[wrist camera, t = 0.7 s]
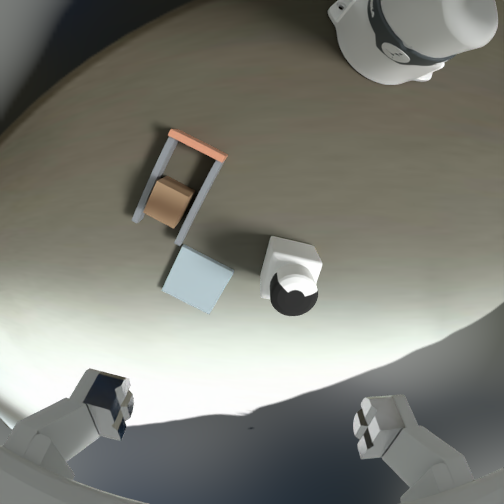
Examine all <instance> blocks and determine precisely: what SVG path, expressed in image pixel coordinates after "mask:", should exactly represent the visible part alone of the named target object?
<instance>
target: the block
mask: <svg viewBox="0 0 504 504" xmlns="http://www.w3.org/2000/svg"><path fill="white" fill-rule="evenodd" d="M194 193H195V190H193V189H192V188H190V187H188V186H186V185H184V184H182V183H180V182H178V181H176V180H174V179H172V178H170V177H168V176H166V177H164V178H161V179H159V180H157V182H156V184H155V186H154V188H153V191H152V193H151V195H150V197H149V200H148V202H147V204H146V207H145V209H144V211H143V213H145V214H147V215H149V216H151V217H153V218H155V219H156V220H158V221H160V222H162V223H164V224H166V225H168V226H170V227H172V228H173V229H174V228H175V226H176V225H177V224H178V223H179V222H180V221H181V219H182V218H183V216H184V214H185V211H186V209H187V207H188V205H189V203H190V201H191V199H192V197H193V195H194Z"/></svg>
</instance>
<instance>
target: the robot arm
mask: <svg viewBox="0 0 504 504" xmlns="http://www.w3.org/2000/svg"><path fill="white" fill-rule="evenodd" d="M339 7H342V8H343V10H341V9H339ZM328 15H329V17H330V19H331V21H332V22H333V24H334V25H335V27H336V31H337V39H338V43H339V46H340V49H341V51H342V53H343V55H344V57H345V58H346V60H347V61H348V62H349V63H350V65H351V66H352V67H353V68H354V69H355V70H356V71H358V72H359V73H360V74H362V75H363V76H365V77H366V78H368V79H370V80H372V81H375V82H377V83H381V84H386V85H397V84H401V83H404V82H407V81H411V80H415V81H422V82H425V81H428V80H430V79H431V76H432V73H433V72H434V71H436V70H438V69H440V68H442V67H443V66H444V62H446V61H447V60H449V59H451V58H453V57H454V56H455V55H456V54H458V53H461V52H465V51H468V50H472V49H476V48H480V47H482V46H484V45H486V44H487V43H488V42H489V41H490V40H491V39H492V38H493V36H494V35H495V32H496V30H497V26H498V13H497V8H496V3H495V0H338V1H336V2H335V3H334V4H333V5H332V6H331V7H330V8H329V9H328ZM129 388H130V382H129V379H128V378H125V377H121V376H117V375H113V374H109V373H105V372H101V371H98V370H94V369H90V368H89V369H88V370H86V372H85V373H84V375H83V376H82V378H81V380H80V381H79V383H78V385H77V386H76V388H75V390H74V391H73V393H72V395H71V396H70V398H64V399H62V400H60V401H58V402H56V403H54V404H52V405H50V406H48V407H46V408H44V409H42V410H40V411H38V412H36V413H34V414H32V415H30V416H28V417H26V418H24V419H22V420H20V421H18V422H17V424H16V425H15V427H14V428H13V430H12V432H11V433H10V435H9V437H8V438H7V440H6V441H5V443H4V445H3V446H1V445H0V504H148V503H143V502H139V501H135V500H132V499H128V498H124V497H121V496H117V495H114V494H111V493H108V492H104V491H101V490H98V489H95V488H92V487H89V486H87V485H84V484H81V483H78V482H76V481H73V478H74V476H75V475H74V473H73V471H72V470H71V468H70V467H69V466H68V464H67V463H66V462H67V461H68V460H70V459H71V458H72V457H74V456H75V455H76V454H78V453H79V452H80V451H82V450H83V449H84V448H85V447H87V446H88V445H90V444H91V443H92V442H93V441H95V440H96V439H97V438H99V437H100V436H104V437H107V438H111V439H115V440H119V441H122V438H123V435H124V433H125V430H126V424H125V421H126V420H128V419H129V418H130V417H131V414H132V411H133V405H134V402H133V394H132V393H131V392H130V391H129ZM361 406H362V409H361V410H359V411H358V412H357V413H356V416H355V417H354V423H353V428H354V433H355V436H356V437H357V438H358V439H360V441H359V443H358V450H359V453H360V457H361V459H368V458H378V457H382V459H383V460H384V461H385V462H386V463H387V464H388V465H389V466H390V467H391V468H392V469H393V470H394V472H396V473H397V474H398V476H399V477H401V479H402V480H403V481H404V482H405V483H406V484H407V485H408V486H409V487H410V489H409V490H408V491H407V492H406V493H404V494H403V495H402V497H401V504H504V467H503V468H501V469H499V470H497V471H495V472H492V473H490V474H488V475H486V476H483V477H481V478H479V479H476V480H474V478H473V475H472V473H471V471H470V469H469V466H468V464H467V462H466V459H465V457H464V456H463V455H462V454H461V453H459V452H458V451H457V450H455V449H454V448H452V447H451V446H449V445H448V444H446V443H445V442H444V441H442V440H441V439H440V438H438V437H437V436H435V435H434V434H432V433H431V432H430V431H428V430H427V429H426V428H424V427H423V426H418V424H417V422H416V419H415V417H414V415H413V413H412V410H411V408H410V406H409V404H408V402H407V400H406V398H405V396H404V395H393V396H377V397H366V398H365V399H363V401H362V403H361Z"/></svg>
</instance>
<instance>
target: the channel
mask: <svg viewBox="0 0 504 504" xmlns="http://www.w3.org/2000/svg"><path fill="white" fill-rule="evenodd" d="M168 136H169V138H168V140H167V142H166V144H165V146H164V148H163V150H162V152H161V154H160V156H159V158H158V160H157V162H156V165H155V167H154V169H153V171H152V173H151V176H150V178H149V180H148V182H147V185H146V187H145V189H144V191H143V194H142V196H141V198H140V201H139V203H138V206H137V208H136V211H135V213H134V215H133V218H132V221H134V222H135V223H138V222H139V221H141V220H142V219H143V217H144V214H145V213H143V211H144V209H145V207H146V204H147V202H148V200H149V197H150V195H151V193H152V191H153V188H154V186H155V184H156V182H157V180H159V179H160V178H161V176H162V174H163V172H164V170H165V168H166V165H167V163H168V161H169V159H170V157H171V155H172V153H173V151H174V149H175V147H176V145H177V143H178V141H180V142H182V143H184V144H186V145H188V146H190V147H192V148H194V149H196V150H198V151H200V152H202V153H204V154H206V155H208V156H210V157H212V158H214V159H216V161H215V163H214V165H213V167H212V168H211V170H210V172H209V174H208V176H207V178H206V180H205V182H204V184H203V186H202V188H201V190H200V191H199V193H198V195H197V197H196V199H195V201H194V203H193V205H192V207H191V209H190V211H189V213H188V215H187V217H186V219H185V221H184V224H183V226H182V228H181V230H180V232H179V234H178V236H177V238H176V240H175V242H174V243H175V244H177V245H179V246H180V245H181V244H182V242H183V241H184V239H185V237H186V235H187V233H188V231H189V229H190V227H191V225H192V223H193V221H194V219H195V217H196V215H197V213H198V211H199V209H200V207H201V205H202V203H203V201H204V199H205V197H206V195H207V193H208V192H209V190H210V188H211V186H212V184H213V182H214V180H215V178H216V176H217V175H218V173H219V171H220V169H221V167H222V165H223V163H224V162H225V160H226V158H227V156H228V154H226V153H224V152H222V151H220V150H218V149H216V148H214V147H212V146H210V145H208V144H206V143H204V142H202V141H200V140H198V139H196V138H194V137H192V136H190V135H188V134H186V133H184V132H182V131H180V130H178V129H171V130H170V132H169V134H168Z"/></svg>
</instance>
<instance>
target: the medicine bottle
mask: <svg viewBox="0 0 504 504" xmlns="http://www.w3.org/2000/svg"><path fill="white" fill-rule="evenodd" d="M321 267H322V261H321V259H320V257H319V255H318V253H317V251H316V248H315V246H313V245H310V244H305V243H301V242H297V241H293V240H288V239H284V238H280V237H276V236H271V237H270V240H269V244H268V248H267V252H266V255H265V259H264V263H263V267H262V270H261V274H260V296H261V297H262V298H267V299H270V300H271V303H272V305H273V307H274V308H275V309H276V310H277V311H278V312H280V313H281V314H284V315H287V316H298V315H302V314H304V313H306V312H308V311H309V310H310V309H311V308H312V307H313V306H314V305H315V303H316V301H317V298H318V290H317V286H316V282H317V279H318V276H319V273H320V270H321Z"/></svg>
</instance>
